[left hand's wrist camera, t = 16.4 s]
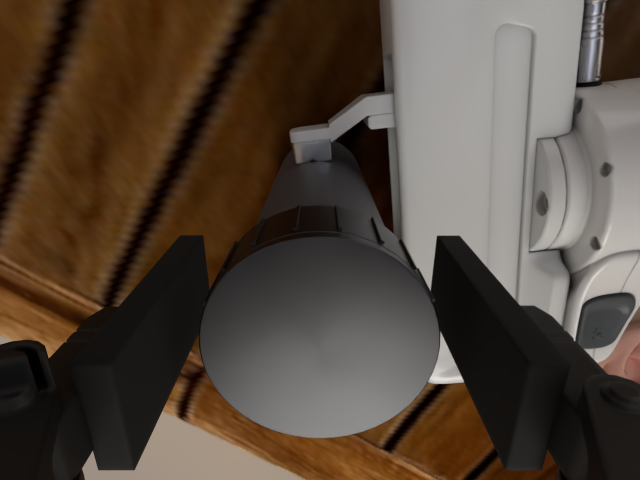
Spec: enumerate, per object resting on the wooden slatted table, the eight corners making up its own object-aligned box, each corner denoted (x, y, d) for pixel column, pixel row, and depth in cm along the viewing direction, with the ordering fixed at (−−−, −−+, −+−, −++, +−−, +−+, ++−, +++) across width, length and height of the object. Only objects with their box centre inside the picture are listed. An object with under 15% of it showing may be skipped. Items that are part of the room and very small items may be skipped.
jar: (303, 122, 25) (275, 203, 9) (376, 164, 26) (461, 301, 10) (265, 194, 27) (186, 366, 11) (334, 231, 28) (353, 437, 12)
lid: (187, 333, 13) (159, 387, 11) (275, 162, 11) (264, 184, 9) (353, 406, 14) (360, 469, 12) (462, 263, 12) (494, 306, 10)
